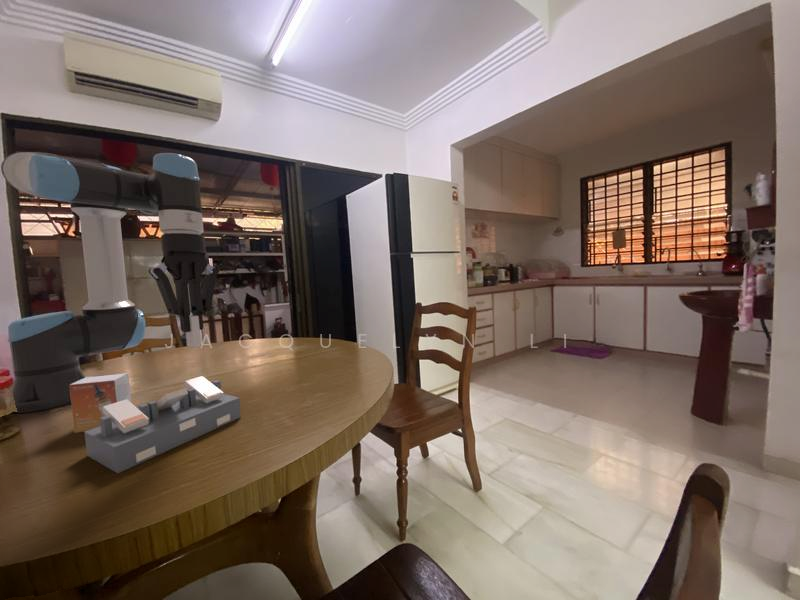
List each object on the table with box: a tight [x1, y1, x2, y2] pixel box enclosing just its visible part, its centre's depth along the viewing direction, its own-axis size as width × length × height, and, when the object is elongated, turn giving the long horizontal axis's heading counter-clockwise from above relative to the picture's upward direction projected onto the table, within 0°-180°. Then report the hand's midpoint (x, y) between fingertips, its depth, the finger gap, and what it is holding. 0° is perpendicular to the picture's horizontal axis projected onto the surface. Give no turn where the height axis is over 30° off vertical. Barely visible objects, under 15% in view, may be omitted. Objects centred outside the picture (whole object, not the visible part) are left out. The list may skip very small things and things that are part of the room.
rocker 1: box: [103, 399, 149, 433], centre depth 58 cm, size 8×4×1 cm, turn 62°
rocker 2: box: [156, 387, 188, 411], centre depth 64 cm, size 8×4×1 cm, turn 61°
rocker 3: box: [184, 375, 224, 403], centre depth 70 cm, size 8×4×1 cm, turn 62°
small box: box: [69, 372, 132, 434], centre depth 70 cm, size 8×6×10 cm
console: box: [83, 380, 242, 474], centre depth 64 cm, size 12×22×8 cm, turn 152°
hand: (194, 346), depth 68 cm, fingers closed
